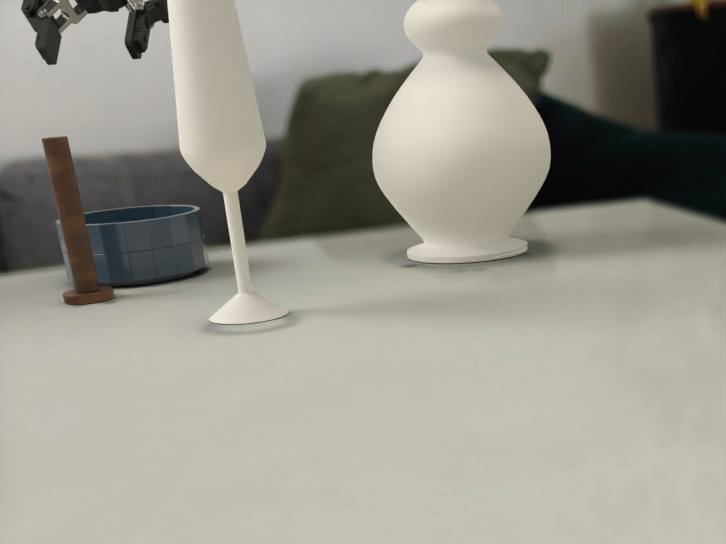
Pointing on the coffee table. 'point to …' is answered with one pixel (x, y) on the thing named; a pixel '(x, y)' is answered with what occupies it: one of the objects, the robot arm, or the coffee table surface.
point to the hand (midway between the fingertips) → (89, 55)
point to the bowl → (144, 244)
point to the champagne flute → (219, 126)
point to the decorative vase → (460, 139)
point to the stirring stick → (73, 225)
